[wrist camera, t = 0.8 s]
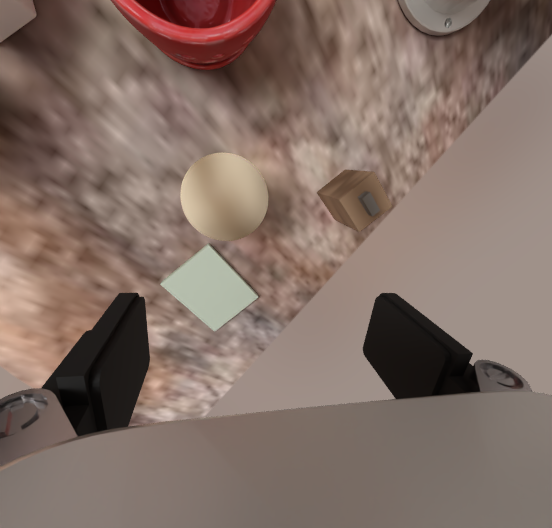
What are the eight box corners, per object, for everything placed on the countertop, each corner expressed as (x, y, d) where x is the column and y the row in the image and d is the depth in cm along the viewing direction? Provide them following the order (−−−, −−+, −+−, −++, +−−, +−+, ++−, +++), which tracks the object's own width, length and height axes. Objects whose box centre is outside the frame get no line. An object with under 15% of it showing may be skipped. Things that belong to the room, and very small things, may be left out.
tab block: (344, 169, 34) (379, 172, 26) (361, 198, 36) (398, 207, 28) (316, 192, 34) (343, 201, 27) (334, 219, 36) (363, 234, 29)
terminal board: (208, 242, 34) (208, 244, 33) (257, 294, 38) (258, 297, 37) (161, 281, 34) (160, 284, 34) (214, 328, 38) (214, 331, 38)
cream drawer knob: (227, 141, 30) (230, 132, 20) (264, 191, 33) (284, 205, 23) (180, 181, 30) (160, 192, 20) (221, 227, 33) (222, 256, 23)
